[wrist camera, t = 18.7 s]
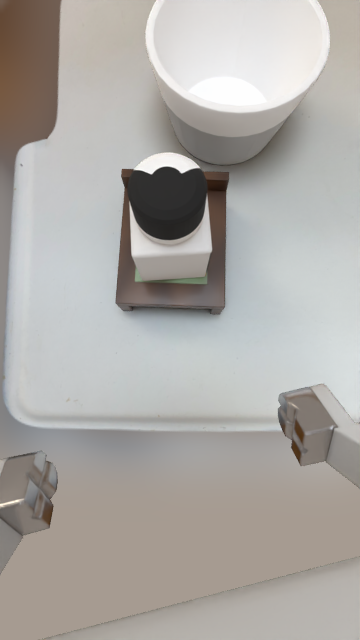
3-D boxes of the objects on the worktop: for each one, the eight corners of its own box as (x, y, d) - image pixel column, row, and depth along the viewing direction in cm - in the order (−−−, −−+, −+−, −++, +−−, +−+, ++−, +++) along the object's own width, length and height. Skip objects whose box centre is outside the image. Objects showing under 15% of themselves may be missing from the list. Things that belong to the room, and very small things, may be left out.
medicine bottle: (206, 277, 33) (220, 224, 21) (141, 282, 33) (119, 230, 21) (201, 218, 34) (211, 135, 22) (139, 222, 34) (116, 142, 22)
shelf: (122, 310, 36) (110, 298, 31) (130, 199, 39) (121, 168, 33) (220, 314, 36) (227, 303, 30) (221, 202, 39) (229, 172, 33)
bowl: (139, 166, 40) (123, 92, 29) (171, 52, 43) (168, -53, 33) (280, 195, 39) (316, 129, 28) (302, 76, 42) (343, -23, 32)
